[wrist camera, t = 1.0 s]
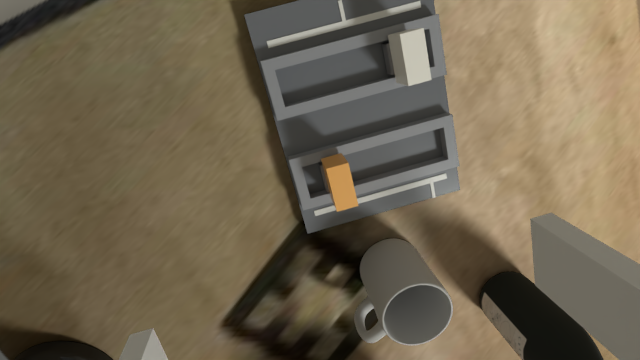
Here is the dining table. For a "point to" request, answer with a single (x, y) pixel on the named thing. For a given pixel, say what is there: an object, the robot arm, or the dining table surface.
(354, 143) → the grey flat slotted tray
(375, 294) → the mug
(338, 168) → the block
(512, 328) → the wine bottle
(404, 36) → the fader
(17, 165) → the dining table surface
